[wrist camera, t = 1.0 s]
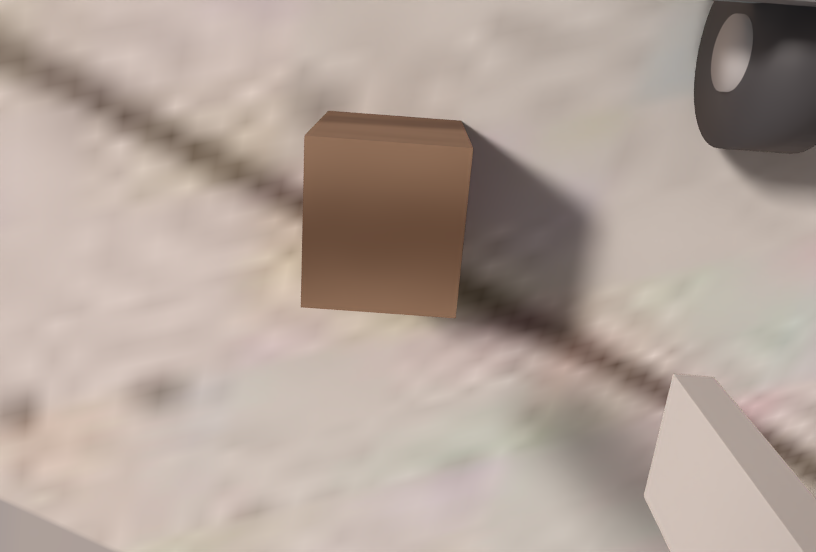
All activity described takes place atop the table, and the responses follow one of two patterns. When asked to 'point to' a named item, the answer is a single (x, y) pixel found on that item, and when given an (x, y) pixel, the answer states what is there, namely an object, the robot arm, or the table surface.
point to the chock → (384, 213)
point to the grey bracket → (758, 76)
